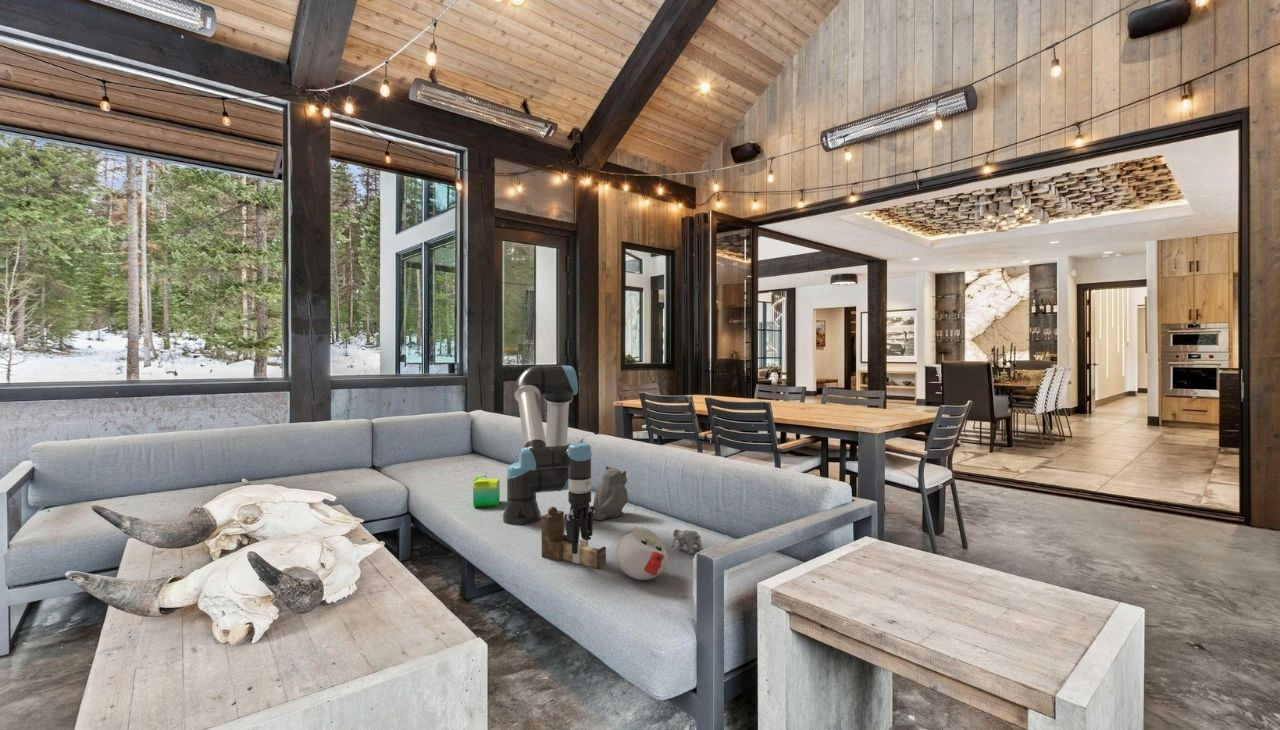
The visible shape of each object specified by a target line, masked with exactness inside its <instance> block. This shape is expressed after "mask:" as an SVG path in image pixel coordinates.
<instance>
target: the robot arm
mask: <svg viewBox="0 0 1280 730" xmlns="http://www.w3.org/2000/svg"><path fill="white" fill-rule="evenodd" d="M577 378H578V377H577V373H576V370H575V368H574V367H573V366H571V365H562V364H561V365H534V366H531V367H530V366H529V367H528V368H527V369H525V370H524V371H522V373H521V374H520V375H519V376H518V378H517V379H516V380H515V381H516V382H515V385H514V388H513V390H514V391H513V393H514V399H515V401H517V403H518V410H519V418H520V426H521V433H522V442H523V447H521V448H520V449H519V454H518V459H519V460H518V461H517V462H513V463H511V464H510V465H509V466H508V467H507V469H506V481H507V482H506V486H507V487H506V489H507V491H506V495H507V496H506V500H507V501H506V504H505V508H504V511H503V513H502V521H503V522H504V523H506V524H510V525H528V524H533V523H535V522H538V521H540V520H541V516H542V514H541V511H540V508H539V505H538V500H537V494H539V493H548V492H549V493H550V492H562V491H567V490H568V503H569V505H570V507H569V508H570V509H569V512H568V513H565V514H564V519H565V520H564V521H565V529H566V535H567V543H571V544H572V553H573V562H572V563H574V564H578V565H581V564H580V545H584V546H589V541H590V540H591V539H592V536H593V526H594V519H593V513H594V509H595V507H594V506H593V505H590V503H591V502H592V447H591V445H590V444H589V443H586V442H585V443H584V442H574V443H573V442H572V443H568V432H569V430H568V429H569V413H570V412H569V409H570V403H571V402H572V401H573V400H574V396H575V395H577V394H578V392H579V386H578V379H577ZM541 396H543V399H544V401H545V402H546V403H547V405H546V406H547V407H546V409H547V410H546V431H545V430H544V424H543V419H542V412H541V411H542V410H541V406H540V401H539V399H540V397H541ZM545 432H546V433H545ZM545 434H546V435H545ZM580 537H581V538H580Z"/></svg>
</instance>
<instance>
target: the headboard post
mask: <svg viewBox="0 0 1280 730" xmlns="http://www.w3.org/2000/svg"><path fill="white" fill-rule="evenodd" d="M564 513H565V512H564V510H558V508H556V507H555V506H550V507H549V508H548V510H547V513H545V514H543V515H541V518H540V520H541V521H540V522H541V557H542V558H544V559H549V560H553V561H557V562H560V561H562V559H561V542H557V541H555V540H557V539H559V538H562V537H565V541H567V534H565V533H564V532H565V531H564V530H565V529H564V527H565V523H564V521H565V520H564V519H565V517H564V516H565V514H564Z"/></svg>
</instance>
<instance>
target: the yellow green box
mask: <svg viewBox="0 0 1280 730" xmlns="http://www.w3.org/2000/svg"><path fill="white" fill-rule="evenodd" d="M485 473H486V475H481V476H476V477H474V479H473V487H472V488H473V489H472V490H473V491H472V492H473V493H472V499H473V500H472V501H473V508H488V507H489V508H490V507H491V508H493V507H494V508H495V507H498V505H499V503H500V497H501V496H500V494H501V493H500V492H501V491H500V489H501V487H500V486H501V485H500V482H501V481H500V478H487V477H488V475H487V473H488V472H487V471H486V472H485Z"/></svg>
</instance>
